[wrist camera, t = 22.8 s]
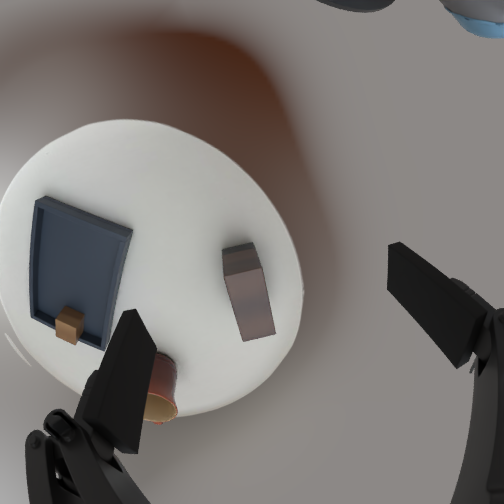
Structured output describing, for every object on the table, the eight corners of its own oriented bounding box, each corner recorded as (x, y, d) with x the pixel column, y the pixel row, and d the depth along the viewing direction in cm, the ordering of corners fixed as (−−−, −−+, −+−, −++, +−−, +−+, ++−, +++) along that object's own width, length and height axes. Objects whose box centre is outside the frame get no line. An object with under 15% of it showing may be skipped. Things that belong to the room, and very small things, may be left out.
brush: (221, 249, 38) (223, 276, 30) (253, 242, 38) (262, 267, 30) (237, 308, 42) (243, 342, 34) (265, 301, 42) (276, 334, 34)
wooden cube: (65, 305, 37) (55, 318, 33) (84, 314, 38) (76, 328, 34) (64, 322, 38) (55, 336, 34) (83, 331, 39) (75, 345, 35)
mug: (130, 345, 42) (117, 388, 33) (179, 348, 43) (174, 394, 34) (142, 387, 47) (134, 428, 37) (184, 390, 48) (182, 432, 39)
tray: (45, 195, 31) (35, 200, 28) (133, 230, 35) (126, 237, 32) (37, 308, 37) (30, 317, 35) (109, 340, 41) (104, 351, 39)
